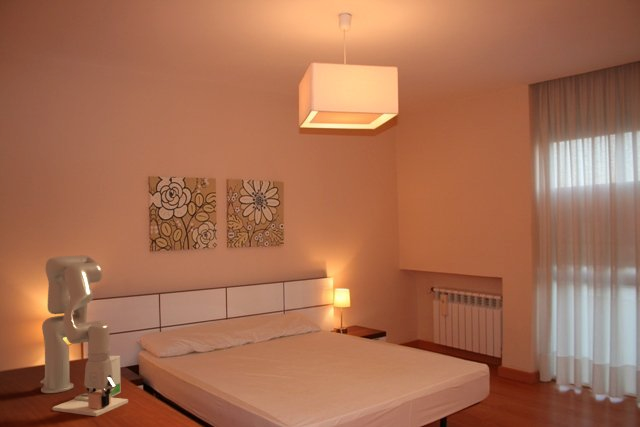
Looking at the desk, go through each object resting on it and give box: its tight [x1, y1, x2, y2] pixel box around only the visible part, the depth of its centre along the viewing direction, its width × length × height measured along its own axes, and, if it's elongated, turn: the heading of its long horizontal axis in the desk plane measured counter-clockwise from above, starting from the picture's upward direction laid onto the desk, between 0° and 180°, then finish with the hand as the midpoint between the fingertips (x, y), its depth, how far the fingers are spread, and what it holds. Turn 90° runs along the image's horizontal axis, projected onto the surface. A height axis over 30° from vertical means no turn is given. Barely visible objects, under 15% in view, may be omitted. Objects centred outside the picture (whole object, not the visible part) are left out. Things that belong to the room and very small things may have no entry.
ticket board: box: [52, 392, 129, 417], centre depth 198 cm, size 22×16×2 cm
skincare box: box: [97, 355, 122, 398], centre depth 211 cm, size 8×7×16 cm
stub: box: [87, 389, 111, 409], centre depth 193 cm, size 5×6×5 cm
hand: (99, 404), depth 193 cm, fingers closed on stub, 5 cm apart
